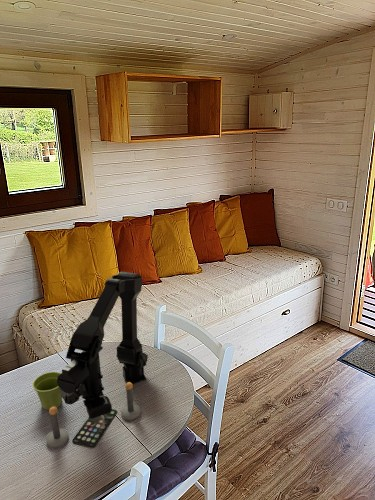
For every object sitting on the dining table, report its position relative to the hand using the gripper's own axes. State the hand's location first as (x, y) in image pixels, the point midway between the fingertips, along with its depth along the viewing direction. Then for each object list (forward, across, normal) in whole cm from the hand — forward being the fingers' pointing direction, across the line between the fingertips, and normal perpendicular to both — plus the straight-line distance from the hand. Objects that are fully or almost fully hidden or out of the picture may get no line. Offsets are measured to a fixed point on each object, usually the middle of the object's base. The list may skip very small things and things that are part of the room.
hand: (94, 414), depth 112 cm
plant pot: (+4, -16, -10) cm, 19 cm away
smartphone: (+5, 0, 0) cm, 5 cm away
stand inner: (+4, 0, +11) cm, 12 cm away
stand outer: (+4, 0, -11) cm, 12 cm away
